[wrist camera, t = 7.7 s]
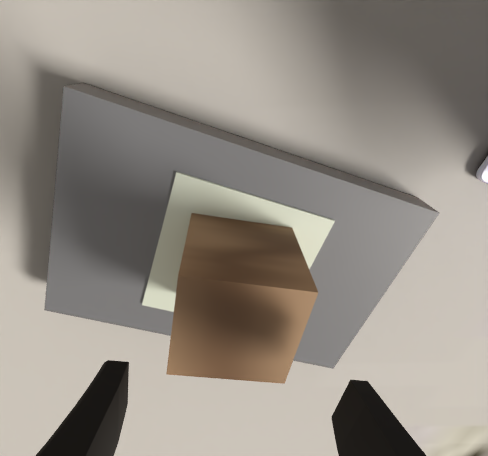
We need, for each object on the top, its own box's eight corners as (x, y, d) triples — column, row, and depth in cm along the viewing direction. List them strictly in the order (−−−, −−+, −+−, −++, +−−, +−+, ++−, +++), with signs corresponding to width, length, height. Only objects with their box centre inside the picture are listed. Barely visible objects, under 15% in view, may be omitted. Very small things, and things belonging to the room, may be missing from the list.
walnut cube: (292, 227, 16) (318, 292, 11) (269, 304, 18) (284, 383, 14) (191, 212, 15) (178, 275, 11) (181, 294, 17) (166, 374, 13)
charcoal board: (418, 197, 18) (441, 214, 16) (324, 344, 23) (333, 370, 21) (83, 82, 14) (61, 86, 12) (61, 287, 19) (43, 311, 17)
